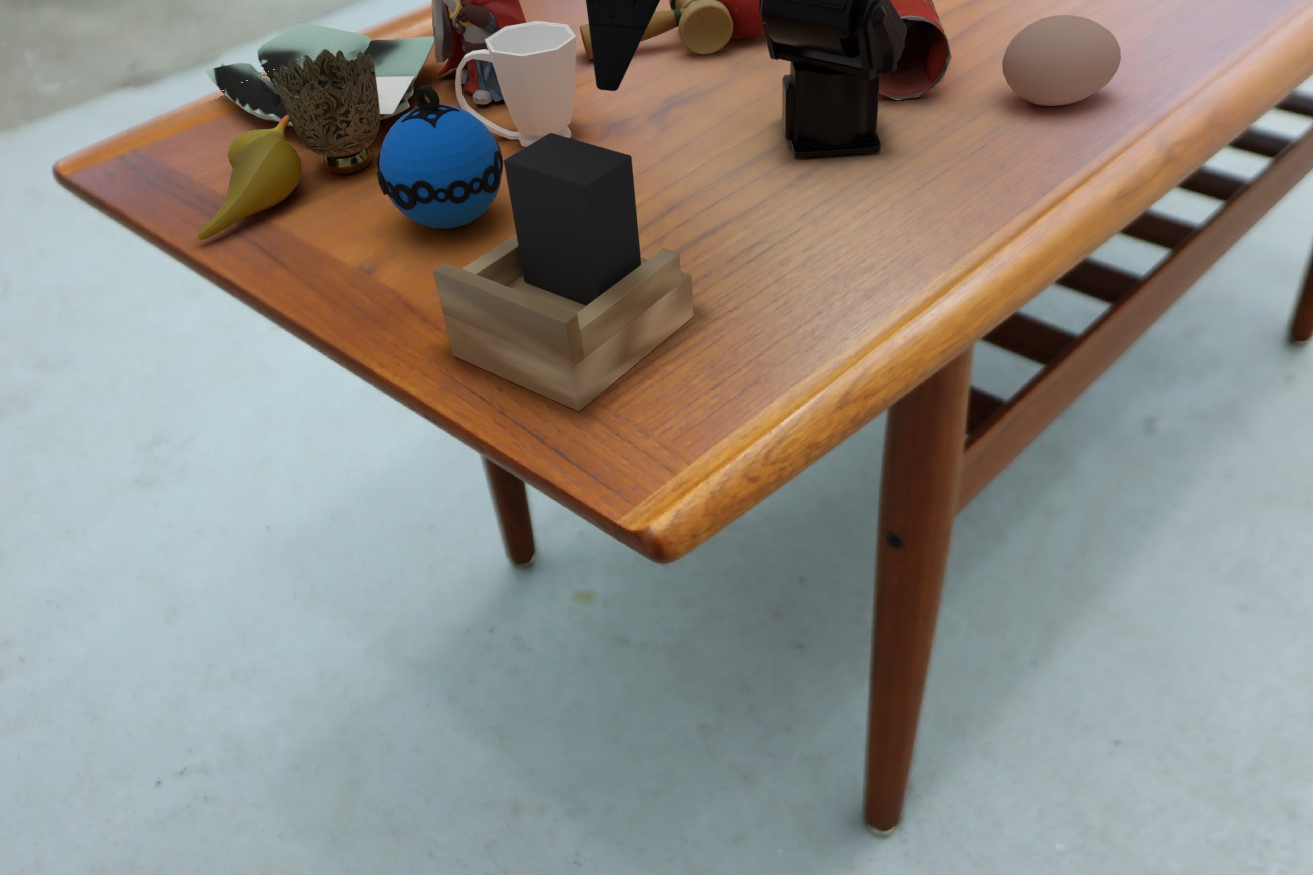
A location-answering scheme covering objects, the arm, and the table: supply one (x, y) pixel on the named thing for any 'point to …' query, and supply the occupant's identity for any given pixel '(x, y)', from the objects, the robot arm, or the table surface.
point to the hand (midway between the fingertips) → (610, 75)
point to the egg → (1060, 60)
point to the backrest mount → (559, 323)
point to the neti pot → (256, 176)
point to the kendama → (700, 23)
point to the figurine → (472, 39)
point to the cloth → (308, 39)
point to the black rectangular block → (573, 216)
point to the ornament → (439, 164)
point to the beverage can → (918, 52)
